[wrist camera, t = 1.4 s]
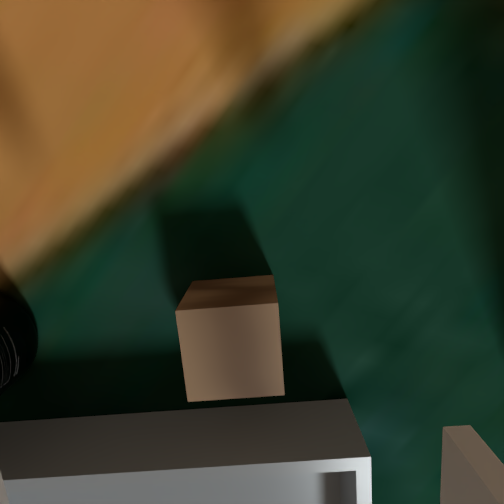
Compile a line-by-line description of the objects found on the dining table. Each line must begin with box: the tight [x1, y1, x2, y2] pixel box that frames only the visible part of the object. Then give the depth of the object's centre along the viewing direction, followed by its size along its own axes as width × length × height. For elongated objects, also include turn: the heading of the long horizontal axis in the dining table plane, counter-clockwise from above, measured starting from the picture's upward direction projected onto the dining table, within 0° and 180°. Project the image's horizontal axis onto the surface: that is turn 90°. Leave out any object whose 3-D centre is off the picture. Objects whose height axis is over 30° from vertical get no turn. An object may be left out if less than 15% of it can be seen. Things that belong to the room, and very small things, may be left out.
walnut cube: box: [175, 275, 285, 402], centre depth 20 cm, size 5×5×5 cm
